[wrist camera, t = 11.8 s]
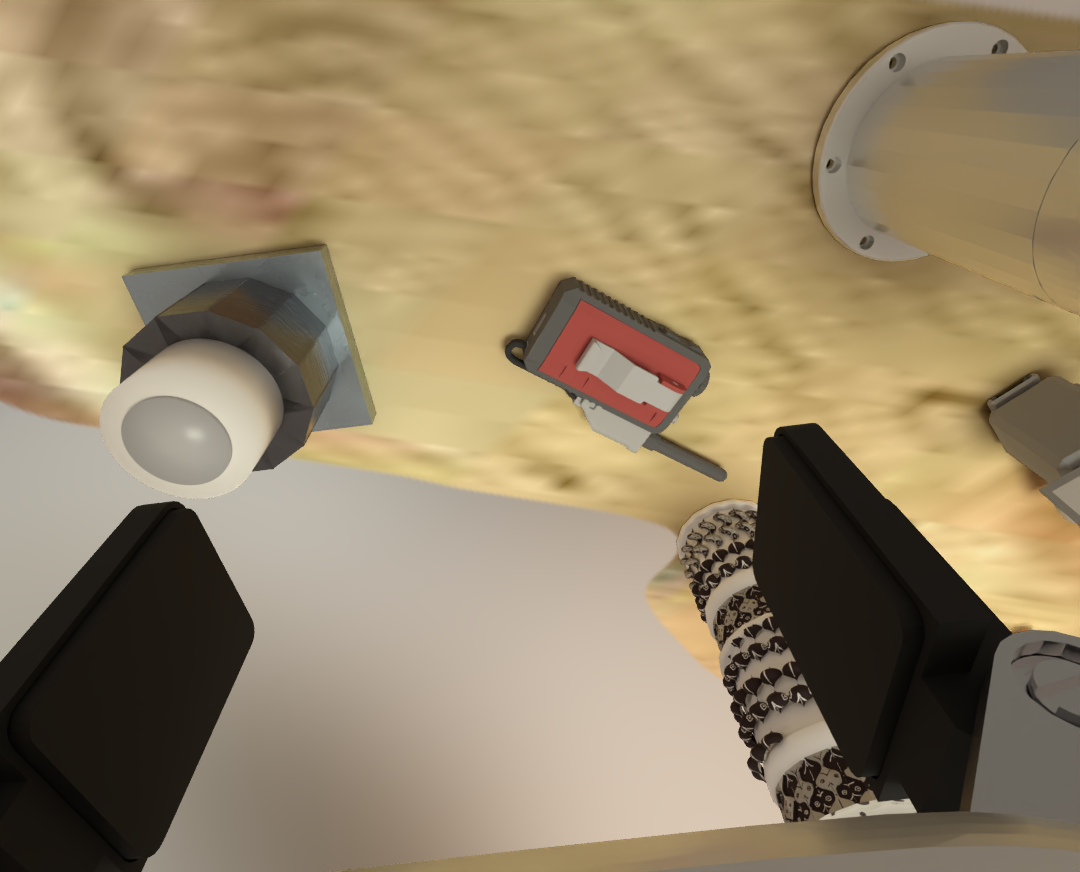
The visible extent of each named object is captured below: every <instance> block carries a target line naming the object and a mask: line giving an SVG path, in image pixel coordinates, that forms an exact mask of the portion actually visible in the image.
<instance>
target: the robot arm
mask: <svg viewBox="0 0 1080 872" xmlns="http://www.w3.org/2000/svg"><path fill="white" fill-rule="evenodd" d="M891 59H892V64H891V66H890V67H889V63H890V60H891ZM829 160H830V165H829V166H828V167H827V168H826V165H827V162H828V161H829ZM813 194H814V198H815V203H816V208H817V211H818V213H819V215H820V217H821V220H822V222H823V224H824V226H825V227H826V229H827V230H828V231H829V232H830V234H831V235H832V236H833V237H834V239H835V240H837V241H838V242H839V243H841V244H842V245H843V246H845V247H846V248H847V249H849V250H851V251H853V252H855V253H857V254H859V255H861V256H864V257H867V258H870V259H874V260H877V261H889V262H900V261H907V260H915V259H918V258H922V257H925V256H928V255H933V256H936V257H938V258H941V259H943V260H946V261H948V262H950V263H953V264H955V265H958V266H960V267H962V268H965V269H967V270H970V271H972V272H975V273H977V274H979V275H982V276H984V277H987V278H989V279H991V280H994V281H996V282H999V283H1001V284H1004V285H1006V286H1008V287H1011V288H1013V289H1016V290H1018V291H1020V292H1023V293H1025V294H1028V295H1030V296H1033V297H1035V298H1037V299H1040V300H1042V301H1045V302H1047V303H1050V304H1052V305H1054V306H1057V307H1059V308H1062V309H1064V310H1066V311H1069V312H1072V313H1075V314H1077V315H1080V50H1067V51H1047V52H1028V50H1027V49H1026V48H1025V47H1024V46H1023V45H1022V44H1021V43H1020V42H1019V41H1018V40H1017V39H1016V38H1015V36H1013V35H1012V34H1010V33H1008V32H1006V31H1005V30H1003V29H1001V28H999V27H998V26H994V25H990V24H986V23H982V22H978V21H963V22H949V23H943V24H937V25H932V26H929V27H926V28H924V29H921V30H918V31H915V32H912V33H910V34H908V35H906V36H905V37H903V38H901V39H899V40H897V41H896V42H894V43H892V44H890V45H889V46H887V47H886V48H885V49H884V50H882V51H881V52H880V53H879V54H877V55H876V56H875V57H874V58H872V59H871V60H870V61H869V62H867V64H866V65H865V66H864V67H863V68H862V69H861V70H860V71H859V72H858V73H857V74H856V75H855V76H854V77H853V79H852V80H851V81H850V82H849V83H848V85H847V86H846V88H845V89H844V91H843V92H842V93H841V95H840V96H839V98H838V99H837V101H836V102H835V104H834V106H833V108H832V110H831V112H830V114H829V116H828V118H827V120H826V122H825V124H824V126H823V129H822V132H821V135H820V138H819V141H818V144H817V147H816V152H815V158H814V165H813ZM862 238H863V240H862V241H861V239H862ZM752 567H753V573H754V577H755V580H756V583H757V585H758V587H759V589H760V591H761V593H762V595H763V597H764V599H765V601H766V603H767V605H768V607H769V609H770V611H771V613H772V615H773V617H774V619H775V621H776V623H777V625H778V627H779V629H780V631H781V633H782V635H783V637H784V639H785V641H786V643H787V645H788V647H789V649H790V651H791V653H792V655H793V657H794V659H795V661H796V663H797V665H798V667H799V669H800V671H801V673H802V675H803V677H804V679H805V682H806V684H807V686H808V688H809V690H810V692H811V694H812V696H813V698H814V700H815V702H816V704H817V706H818V708H819V710H820V712H821V714H822V716H823V718H824V720H825V722H826V724H827V726H828V728H829V730H830V732H831V734H832V736H833V738H834V740H835V742H836V744H837V746H838V748H839V750H840V752H841V754H842V756H843V758H844V760H845V762H846V764H847V766H848V768H849V769H850V771H851V772H852V773H853V775H854V776H856V777H857V778H861V777H866V779H867V781H868V783H869V785H870V787H871V789H872V791H873V793H874V795H875V797H876V799H877V801H878V802H883V801H892V800H901V799H910V801H911V803H912V804H913V806H914V808H915V810H916V812H917V813H904V814H882V815H871V816H860V817H848V818H837V819H825V820H814V821H802V822H791V823H780V824H768V825H757V826H745V827H736V828H727V829H719V830H718V829H717V830H709V831H698V832H689V833H679V834H670V835H661V836H651V837H642V838H632V839H623V840H613V841H604V842H594V843H585V844H575V845H567V846H556V847H548V848H538V849H529V850H520V851H511V852H501V853H493V854H484V855H475V856H466V857H456V858H448V859H438V860H429V861H420V862H411V863H403V864H393V865H384V866H376V867H367V868H357V869H348V870H340V871H331V872H1080V638H1079V637H1075V636H1071V635H1067V634H1063V633H1059V632H1055V631H1041V630H1029V631H1024V632H1018V633H1013V634H1012V633H1011V632H1010V631H1009V630H1008V628H1007V627H1006V626H1005V625H1004V624H1003V623H1002V622H1001V621H1000V620H999V619H998V617H997V616H996V615H995V614H994V613H993V612H992V611H991V610H990V609H989V608H988V606H987V605H986V604H985V603H984V602H983V601H982V600H981V599H980V598H979V597H978V595H977V594H976V593H975V592H974V591H973V590H972V589H971V588H970V587H969V586H968V585H967V583H966V582H965V581H964V580H963V579H962V578H961V577H960V576H959V575H958V574H957V572H956V571H955V570H954V569H953V568H952V567H951V566H950V565H949V564H948V563H947V561H946V560H945V559H944V558H943V557H942V556H941V555H940V554H939V553H938V552H937V551H936V549H935V548H934V547H933V546H932V545H931V544H930V543H929V542H928V541H927V540H926V538H925V537H924V536H923V535H922V534H921V533H920V532H919V531H918V530H917V529H916V527H915V526H914V525H913V524H912V523H911V522H910V521H909V520H908V519H907V518H906V516H905V515H904V514H903V513H902V512H901V511H900V510H899V509H898V508H897V507H896V506H895V505H894V504H893V503H892V502H891V501H889V500H888V499H885V498H884V497H883V495H882V494H881V493H880V492H879V491H878V490H877V489H876V488H875V487H874V485H873V484H872V483H871V482H870V481H869V480H868V479H867V478H866V477H865V475H864V474H863V473H862V472H861V471H860V470H859V469H858V468H857V467H856V466H855V464H854V463H853V462H852V461H851V460H850V459H849V458H848V457H847V456H846V454H845V453H844V452H843V451H842V450H841V449H840V448H839V447H838V446H837V444H836V443H835V442H834V441H833V440H832V439H831V438H830V437H829V436H828V434H827V433H826V432H825V431H824V430H823V429H822V428H821V427H820V426H819V425H818V424H816V423H808V424H800V425H792V426H784V427H779V428H777V429H776V431H775V433H774V437H768V438H766V439H765V441H764V445H763V454H762V465H761V475H760V485H759V496H758V506H757V516H756V527H755V537H754V547H753V557H752ZM253 638H254V624H253V621H252V618H251V616H250V614H249V613H248V611H247V609H246V607H245V605H244V603H243V601H242V599H241V597H240V595H239V594H238V592H237V590H236V588H235V586H234V584H233V582H232V580H231V578H230V577H229V575H228V573H227V571H226V569H225V567H224V565H223V563H222V562H221V560H220V558H219V556H218V554H217V552H216V550H215V548H214V547H213V544H212V543H211V541H210V539H209V537H208V535H207V533H206V531H205V529H204V527H203V526H202V524H201V522H200V520H199V518H198V516H197V515H196V513H195V512H194V511H193V510H191V509H186V508H185V506H184V505H182V504H181V503H179V502H175V501H172V502H163V503H155V504H147V505H141V506H137V507H136V508H134V509H133V510H132V511H131V512H130V513H129V514H128V515H127V516H126V518H125V519H124V520H123V521H122V522H121V523H120V525H119V526H118V527H117V528H116V529H115V530H114V531H113V533H112V534H111V535H110V536H109V538H107V540H106V541H105V542H104V543H103V544H102V545H101V547H100V548H99V549H98V550H97V551H96V552H95V553H94V555H93V556H92V557H91V558H90V559H89V560H88V562H87V563H86V564H85V565H84V566H83V567H82V569H81V570H80V571H79V572H78V573H77V574H76V575H75V577H74V578H73V579H72V580H71V581H70V582H69V584H68V585H67V586H66V587H65V588H64V589H63V590H62V592H61V593H60V594H59V595H58V596H57V597H56V598H55V600H54V601H53V602H52V603H51V604H50V605H49V607H48V608H47V609H46V610H45V611H44V612H43V614H42V615H41V616H40V617H39V618H38V619H37V620H36V622H35V623H34V624H33V625H32V626H31V627H30V629H29V630H28V631H27V632H26V633H25V634H24V635H23V637H22V638H21V639H20V640H19V641H18V642H17V643H16V645H15V646H14V647H13V648H12V649H11V650H10V652H9V653H8V654H7V655H6V656H5V657H4V659H3V660H2V661H1V662H0V872H141V871H142V869H143V867H144V865H145V863H146V861H147V858H148V857H150V856H152V855H154V854H155V853H156V851H157V850H158V849H159V848H160V846H161V844H162V842H163V840H164V838H165V836H166V834H167V832H168V829H169V827H170V825H171V823H172V820H173V818H174V816H175V814H176V812H177V809H178V807H179V805H180V803H181V800H182V798H183V796H184V794H185V792H186V789H187V787H188V785H189V783H190V780H191V778H192V776H193V774H194V771H195V769H196V766H197V765H198V763H199V760H200V758H201V756H202V754H203V751H204V749H205V747H206V745H207V742H208V740H209V738H210V736H211V734H212V731H213V729H214V727H215V725H216V723H217V720H218V718H219V716H220V713H221V711H222V709H223V707H224V705H225V703H226V700H227V698H228V696H229V694H230V691H231V689H232V687H233V685H234V682H235V680H236V678H237V676H238V674H239V671H240V669H241V667H242V665H243V662H244V660H245V658H246V656H247V654H248V651H249V649H250V647H251V645H252V642H253Z"/></svg>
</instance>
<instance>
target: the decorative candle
mask: <svg viewBox="0 0 1080 872" xmlns="http://www.w3.org/2000/svg"><path fill="white" fill-rule="evenodd" d="M757 506H758V504H756V503H754V502H752V501H747V500H737V499H729V500H725V501H720V502H716V503H712V504H710V505H708V506H706V507H704V508H703V509H701V510H699V511H697V512H695V513H694V514H693V515H692V516H691V517H690V518H689V519H688V520H687V522H686V523H685V524H684V525H683V526H682V527H681V530H680V533H679V536H678V539H677V549H678V555H679V558H680V559H681V564H683V565H685V566H686V567H687V568H688V569H686V570H685V576H686V578H692V579H693V582H692V583H690V584H689V587H690V588H691V589H692V593H693V595H694V596H695V597H696V599H695V602H696V604H697V608H698V610H699V611H700V612H701V619H702V620H703V621H704V622H705V623H707V624H708V627H709V630H710V632H711V635H712V637H713V638H714V639H715V640H716V641H717V643H718V646H719V649H720V651H721V653H720V655H719V662H720V670H721V674H722V676H723V677H724V678H723V684H724V686H725V687H726V688H727V690H728V692H729V694H730V695H731V696H733V700H734V701H733V702H732V703H731V707H730V708H731V711H732V713H733V714H734V718H735V720H736V721H737V722H739V723H740V728H739V731H738V733H739V736H740V738H741V739H742V740H744V743H745V744H746V746H747V747H749V748H751V751H750V756H751V757H750V758H749V759H748V761H747V764H748V767H749V769H750V770H751V771H752V774H753V776H754V777H755V778H756V779H758V780H762V781H764V782H766V783H767V786H768V789H769V791H770V794H771V797H772V799H773V802H775V803H776V804H777V805H778V806H779V808H780V810H781V813H782V816H783V819H784V822H785V823H791V822H802V821H814V820H825V819H837V818H848V817H860V816H871V815H882V814H904V813H917V812H916V810H915V808H914V806H913V804H912V803H911V801H910V799H901V800H892V801H883V802H878V801H877V799H876V797H875V795H874V793H873V791H872V789H871V787H870V785H869V783H868V781H867V779H866V777H861V778H857V777H856V776H854V775H853V773H852V772H851V771H850V769H849V768H848V766H847V764H846V762H845V760H844V758H843V756H842V754H841V752H840V750H839V748H838V746H837V744H836V742H835V740H834V738H833V736H832V734H831V732H830V730H829V728H828V726H827V724H826V722H825V720H824V718H823V716H822V714H821V712H820V710H819V708H818V706H817V704H816V702H815V700H814V698H813V696H812V694H811V692H810V690H809V688H808V686H807V684H806V682H805V679H804V677H803V675H802V673H801V671H800V669H799V667H798V665H797V663H796V661H795V659H794V657H793V655H792V653H791V651H790V649H789V647H788V645H787V643H786V641H785V639H784V637H783V635H782V633H781V631H780V629H779V627H778V625H777V623H776V621H775V619H774V617H773V615H772V613H771V611H770V609H769V607H768V605H767V603H766V601H765V599H764V597H763V595H762V593H761V591H760V589H759V587H758V585H757V583H756V580H755V577H754V573H753V567H752V557H753V547H754V537H755V527H756V516H757ZM741 706H743V708H744V710H745V713H746V714H745V713H744V711H743V710H742V707H741ZM752 733H753V734H754V735H753V734H752ZM762 761H764V763H763V762H762ZM760 763H763V765H764V768H763V767H762V766H761V764H760Z"/></svg>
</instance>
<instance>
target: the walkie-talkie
mask: <svg viewBox="0 0 1080 872" xmlns="http://www.w3.org/2000/svg"><path fill="white" fill-rule="evenodd" d="M514 347H520V348H523V358H524V361H523V360H521V359H519V358H517V357H515V356H514V355H513V354H512V352H511V350H512V349H513V348H514ZM505 354H506V357H507V359H508V360H509V361H510V362H512V363H513V364H514V365H516V366H518V367H520V368H522V369H524V370H526V371H528V372H530V373H532V374H534V375H536V376H538V377H540V378H542V379H545V380H547V381H548V382H551V383H553V384H555V385H556V386H559V387H561V388H562V389H563V390H565V391H566V393H567V394H568V396H570V397H571V398H572V400H573V404H575V405H577V406H579V407H581V408H582V409H583V411H584V413H585V415H586V417H587V420H588V422H589V424H590V426H591V428H592V430H593V431H595V432H597V433H599V434H601V435H603V436H605V437H607V438H610V439H612V440H614V441H616V442H618V443H620V444H622V445H624V446H626V448H627V449H628V450H630V451H632V452H634V453H636V452H637V451H638V450H639V449H640V447H641V446H643V447H645V448H647V449H649V450H651V451H653V450H655V451H657V452H659V453H661V454H663V455H665V456H667V457H670V458H672V459H674V460H676V461H678V462H680V463H682V464H684V465H686V466H688V467H690V468H692V469H694V470H696V471H698V472H700V473H702V474H704V475H706V476H708V477H710V478H713V479H715V480H717V481H724V480H725V479H726V478H727V472H726V471H725V470H724V469H722V468H720V467H718V466H716V465H714V464H712V463H710V462H708V461H706V460H704V459H702V458H700V457H698V456H696V455H694V454H692V453H690V452H688V451H686V450H684V449H682V448H680V447H678V446H676V445H674V444H672V443H670V442H668V441H666V440H664V439H662V438H660V436H659V435H658V434H656V433H661V432H662V431H664V430H665V429H666V428H667V427H668V426H669V425H670V423H675V422H676V421H677V419H678V417H679V415H678V413H679V412H680V410H681V409H682V408H683V406H684V405H685V404H686V402H687V401H688V400H689V399H690V397H691V396H693V397H695V396H698V395H699V394H701V393H702V392H703V391H704V390H705V388H706V387H707V385H708V382H709V377H710V374H709V370H710V368H711V366H710V363H709V360H708V359H707V357H706V356H705V355H704V353H703V351H702V350H701V348H700V347H699V346H698V345H696V344H694V343H692V342H691V341H689V340H686V339H684V338H682V337H680V336H679V335H677V334H675V332H673V331H671V330H669V329H668V328H666V327H663V326H661V325H659V324H657V323H656V322H654V321H652V320H650V319H648V320H647V319H645V317H644V316H643V315H641V316H640V315H639V314H638V312H636V311H635V312H633V311H632V310H631V308H626V307H625V306H624V304H619V303H618V301H616V300H615V301H613V300H612V299H611V297H609V296H608V297H606V296H605V295H604V293H602V292H601V293H599V292H598V291H597V289H592V288H591V287H590V285H585V284H584V283H583V281H578V280H576V277H573V278H569V279H565V280H561V282H560V284H559V285H558V287H557V289H556V290H555V292H554V294H553V295H552V297H551V299H550V301H549V302H548V304H547V306H546V307H545V309H544V311H543V313H542V314H541V316H540V318H539V319H538V321H537V323H536V324H535V326H534V328H533V330H532V331H531V333H530V335H529V336H528V338H527V340H526V342H525V341H523V340H520V339H514V340H511V341H510V342H509V343H508V344H507V345H506V348H505Z"/></svg>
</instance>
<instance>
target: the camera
mask: <svg viewBox="0 0 1080 872" xmlns="http://www.w3.org/2000/svg"><path fill="white" fill-rule="evenodd" d="M1023 380H1024V382H1023V383H1021V384H1020V385H1018V386H1016V387H1015V388H1013V389H1012V390H1010V391H1008V392H1007V393H1005V394H1004V395H1002V396H1001V397H999V398H997V397H996V396H995V397H993V398H992V399H990V400H988V402H987V405H988V406H989V408H990V410H991V413H990V417H989V423H990V424H991V426H992V428H993V430H994V431H995V433H996V435H997V437H998V438H999V440H1000V442H1001V443H1002V445H1003V447H1004V449H1005V450H1006V452H1008V453H1009V454H1010V455H1012V456H1013V457H1014V458H1016V459H1017V460H1018V461H1020V462H1021V463H1022V464H1024V465H1025V466H1026V467H1028V468H1029V469H1030V470H1032V471H1033V472H1034V473H1036V474H1037V475H1038V476H1040V477H1041V478H1042V479H1044V480H1045V481H1046V482H1047V485H1046V486H1045V487H1043V488H1041V489H1039V491H1040V492H1041V493H1042V494H1043V495H1044V496H1045V497H1047V498H1048V499H1049V500H1050V501H1051V502H1052V503H1053V504H1054V506H1055V507H1056V509H1057V511H1058V512H1059V514H1060V515H1061V516H1062V517H1063V518H1064V519H1066V520H1068V521H1070V522H1072V523H1075V524H1077V525H1079V526H1080V385H1079V384H1073V383H1071V382H1069V381H1067V380H1065V379H1063V378H1061V377H1051V376H1050V377H1048V378H1046V379H1044V380H1043V381H1041V379H1040V377H1039V375H1038V374H1036V373H1031V374H1030V375H1028V376H1026V377H1025V378H1023Z"/></svg>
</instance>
